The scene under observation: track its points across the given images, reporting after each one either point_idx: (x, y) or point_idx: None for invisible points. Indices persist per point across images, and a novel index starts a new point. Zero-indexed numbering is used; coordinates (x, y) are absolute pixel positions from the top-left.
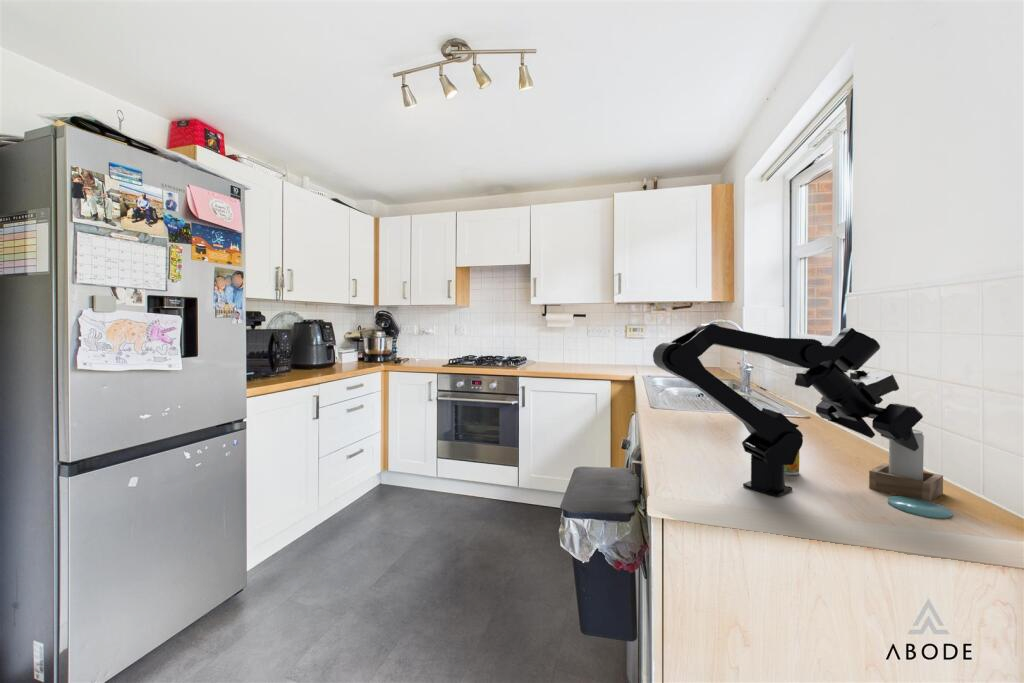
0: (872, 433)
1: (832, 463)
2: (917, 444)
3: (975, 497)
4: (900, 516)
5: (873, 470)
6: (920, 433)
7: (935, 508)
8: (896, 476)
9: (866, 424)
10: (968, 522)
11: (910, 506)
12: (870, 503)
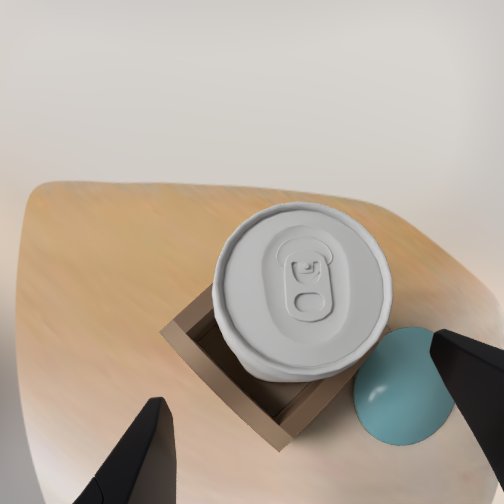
0: (164, 415)
1: (45, 393)
2: (460, 336)
3: (283, 196)
4: (458, 445)
5: (273, 436)
6: (375, 243)
7: (422, 357)
8: (333, 393)
9: (144, 465)
10: (454, 324)
11: (424, 410)
12: (399, 483)
